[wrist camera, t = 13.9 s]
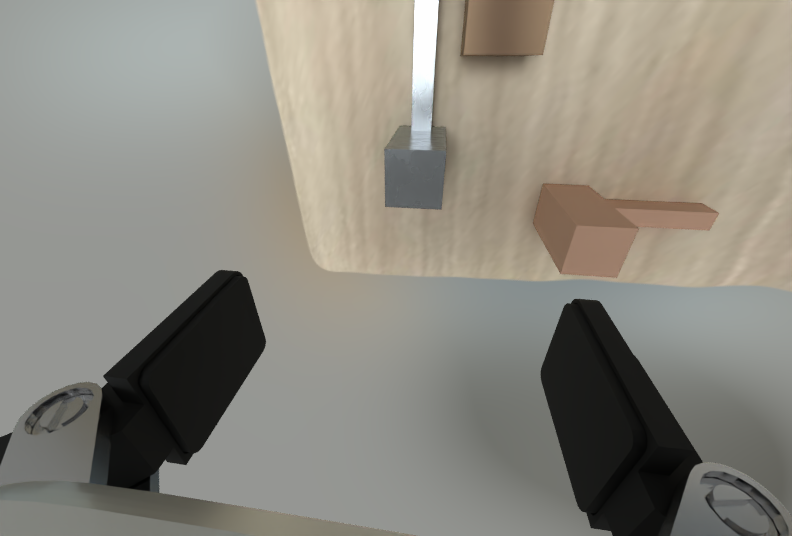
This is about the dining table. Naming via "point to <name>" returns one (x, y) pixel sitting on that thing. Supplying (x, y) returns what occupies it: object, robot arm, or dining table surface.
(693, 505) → the robot arm
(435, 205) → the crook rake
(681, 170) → the dining table surface
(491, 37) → the walnut block
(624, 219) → the salmon l-shaped piece
